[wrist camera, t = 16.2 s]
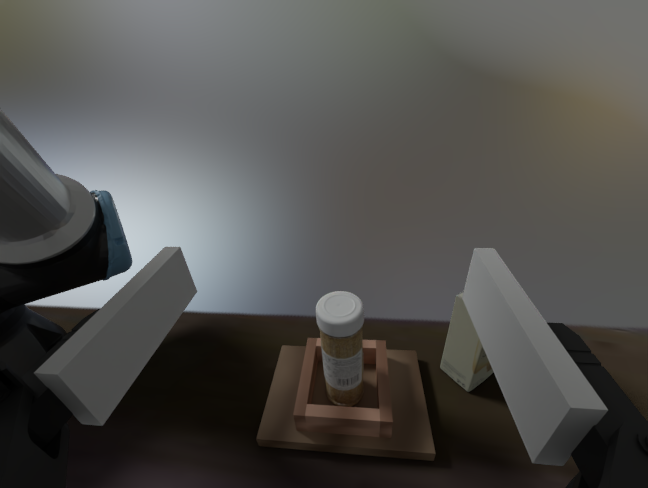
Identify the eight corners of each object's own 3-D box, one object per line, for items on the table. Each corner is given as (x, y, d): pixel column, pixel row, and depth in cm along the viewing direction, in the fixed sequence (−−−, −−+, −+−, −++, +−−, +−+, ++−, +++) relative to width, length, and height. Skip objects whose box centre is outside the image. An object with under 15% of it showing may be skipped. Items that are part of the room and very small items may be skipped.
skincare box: (468, 394, 35) (491, 319, 28) (438, 367, 38) (453, 295, 32) (500, 367, 37) (528, 293, 31) (470, 344, 41) (489, 273, 34)
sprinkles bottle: (363, 373, 36) (363, 289, 29) (364, 410, 32) (364, 323, 25) (326, 372, 37) (318, 288, 30) (323, 408, 33) (312, 322, 26)
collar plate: (258, 446, 31) (250, 423, 29) (283, 352, 42) (279, 330, 39) (433, 461, 29) (439, 437, 27) (414, 358, 39) (417, 334, 37)
